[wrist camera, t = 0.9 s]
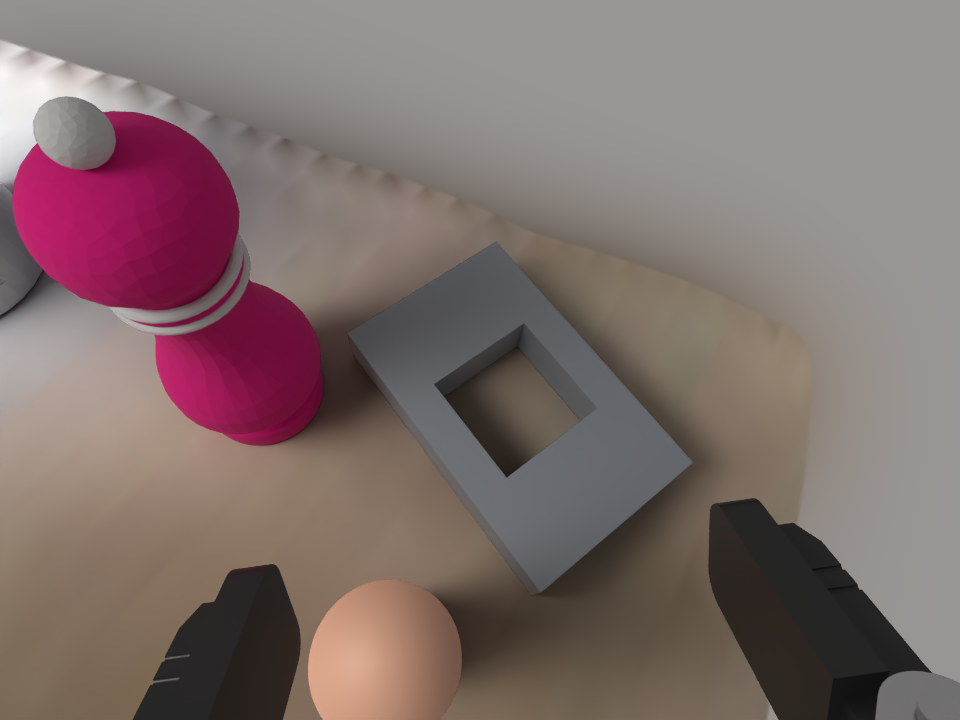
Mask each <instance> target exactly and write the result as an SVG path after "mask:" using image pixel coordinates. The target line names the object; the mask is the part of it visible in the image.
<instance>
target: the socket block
mask: <svg viewBox="0 0 960 720" xmlns="http://www.w3.org/2000/svg"><path fill="white" fill-rule="evenodd" d="M347 335H348V338H349V341H350V344H351V348H352V351H353V354H354V357H355V358H356V359H357V361H358V362H359V363H360V365H361V366H362V367H363V369H364V370H365V371H366V373H367V374H368V375H369V377H370V378H371V379H372V381H373V382H374V384H375V385H376V386H377V388H378V389H379V390H380V392H381V393H382V394H383V396H384V397H385V398H386V400H387V401H388V402H389V404H390V405H391V407H392V408H393V409H394V411H395V412H396V413H397V415H398V416H399V417H400V419H401V420H402V421H403V423H404V424H405V425H406V427H407V428H408V429H409V431H410V432H411V434H412V435H413V436H414V438H415V439H416V440H417V442H418V443H419V444H420V446H421V447H422V448H423V450H424V451H425V452H426V454H427V455H428V456H429V458H430V459H431V461H432V462H433V463H434V465H435V466H436V467H437V469H438V470H439V471H440V473H441V474H442V475H443V477H444V478H445V479H446V481H447V482H448V484H449V485H450V486H451V488H452V489H453V490H454V492H455V493H456V494H457V496H458V497H459V498H460V500H461V501H462V502H463V504H464V505H465V506H466V508H467V509H468V511H469V512H470V513H471V515H472V516H473V517H474V519H475V520H476V521H477V523H478V524H479V525H480V527H481V528H482V529H483V531H484V532H485V533H486V535H487V536H488V538H489V539H490V540H491V542H492V543H493V544H494V546H495V547H496V548H497V550H498V551H499V552H500V554H501V555H502V556H503V558H504V559H505V561H506V562H507V563H508V565H509V566H510V567H511V569H512V570H513V571H514V573H515V574H516V575H517V577H518V578H519V579H520V581H521V582H522V583H523V585H524V586H525V588H526V589H527V590H528V592H529V593H530V594H531V595H534V594H538V593H541V592H542V591H544V590H545V589H546V588H547V587H548V586H549V585H551V584H552V583H553V582H554V581H555V580H556V579H558V578H559V577H560V576H561V575H562V574H563V573H565V572H566V571H567V570H568V569H569V568H570V567H572V566H573V565H574V564H575V563H576V562H577V561H579V560H580V559H581V558H582V557H583V556H584V555H586V554H587V553H588V552H589V551H590V550H591V549H593V548H594V547H595V546H596V545H597V544H598V543H600V542H601V541H602V540H603V539H604V538H605V537H607V536H608V535H609V534H610V533H611V532H612V531H614V530H615V529H616V528H617V527H618V526H619V525H621V524H622V523H623V522H624V521H625V520H627V519H628V518H629V517H630V516H631V515H632V514H634V513H635V512H636V511H637V510H638V509H639V508H641V507H642V506H643V505H644V504H645V503H646V502H648V501H649V500H650V499H651V498H652V497H653V496H655V495H656V494H657V493H658V492H659V491H660V490H662V489H663V488H664V487H665V486H666V485H667V484H669V483H670V482H671V481H672V480H673V479H674V478H676V477H677V476H678V475H679V474H680V473H681V472H683V471H684V470H685V469H686V468H687V467H688V466H690V465H691V464H692V463H693V462H692V460H691V459H690V458H689V457H688V456H687V455H686V454H685V453H684V451H683V450H682V449H681V448H680V447H679V446H678V445H677V444H676V443H675V441H674V440H673V439H672V438H671V437H670V436H669V435H668V434H667V432H666V431H665V430H664V429H663V428H662V427H661V426H660V425H659V423H658V422H657V421H656V420H655V419H654V418H653V417H652V416H651V415H650V413H649V412H648V411H647V410H646V409H645V408H644V407H643V406H642V404H641V403H640V402H639V401H638V400H637V399H636V398H635V397H634V395H633V394H632V393H631V392H630V391H629V390H628V389H627V388H626V386H625V385H624V384H623V383H622V382H621V381H620V380H619V379H618V378H617V376H616V375H615V374H614V373H613V372H612V371H611V370H610V369H609V367H608V366H607V365H606V364H605V363H604V362H603V361H602V360H601V358H600V357H599V356H598V355H597V354H596V353H595V352H594V351H593V350H592V348H591V347H590V346H589V345H588V344H587V343H586V342H585V341H584V339H583V338H582V337H581V336H580V335H579V334H578V333H577V332H576V330H575V329H574V328H573V327H572V326H571V325H570V324H569V323H568V321H567V320H566V319H565V318H564V317H563V316H562V315H561V314H560V313H559V311H558V310H557V309H556V308H555V307H554V306H553V305H552V304H551V302H550V301H549V300H548V299H547V298H546V297H545V296H544V295H543V293H542V292H541V291H540V290H539V289H538V288H537V287H536V286H535V285H534V283H533V282H532V281H531V280H530V279H529V278H528V277H527V276H526V274H525V273H524V272H523V271H522V270H521V269H520V268H519V267H518V265H517V264H516V263H515V262H514V261H513V260H512V259H511V258H510V256H509V255H508V254H507V253H506V252H505V251H504V250H503V249H502V248H501V246H500V245H499V244H498V243H497V242H495V243H493V244H491V245H490V246H488V247H487V248H485V249H483V250H482V251H480V252H478V253H477V254H475V255H473V256H472V257H470V258H469V259H467V260H465V261H464V262H462V263H460V264H459V265H457V266H456V267H454V268H452V269H451V270H449V271H447V272H446V273H444V274H443V275H441V276H439V277H438V278H436V279H434V280H433V281H431V282H429V283H428V284H426V285H425V286H423V287H421V288H420V289H418V290H416V291H415V292H413V293H412V294H410V295H408V296H407V297H405V298H403V299H402V300H400V301H398V302H397V303H395V304H394V305H392V306H390V307H389V308H387V309H385V310H384V311H382V312H381V313H379V314H377V315H376V316H374V317H372V318H371V319H369V320H368V321H366V322H364V323H363V324H361V325H359V326H358V327H356V328H354V329H353V330H351V331H350V332H348V333H347ZM515 347H518V348H519V349H520V350H521V351H522V352H523V354H524V355H525V356H526V357H527V358H528V360H529V361H530V362H531V363H532V364H533V365H534V367H535V368H536V369H537V370H538V371H539V373H540V374H541V375H542V376H543V377H544V378H545V380H546V381H547V382H548V383H549V384H550V386H551V387H552V388H553V389H554V390H555V391H556V393H557V394H558V395H559V396H560V397H561V399H562V400H563V401H564V402H565V403H566V404H567V406H568V407H569V408H570V409H571V410H572V412H573V413H574V414H575V415H576V416H577V417H578V419H579V420H580V422H579V423H578V424H576V425H575V426H574V427H572V428H571V429H570V430H568V431H567V432H566V433H564V434H563V435H562V436H561V437H559V438H558V439H557V440H555V441H554V442H553V443H551V444H550V445H549V446H548V447H546V448H545V449H544V450H542V451H541V452H540V453H538V454H537V455H536V456H534V457H533V458H532V459H531V460H529V461H528V462H527V463H525V464H524V465H523V466H521V467H520V468H519V469H517V470H516V471H515V472H514V473H512V474H511V475H510V476H508V477H507V478H506V476H505V475H504V474H503V473H502V471H501V470H500V469H499V467H498V466H497V465H496V464H495V462H494V461H493V460H492V458H491V457H490V456H489V454H488V453H487V452H486V451H485V449H484V448H483V447H482V445H481V444H480V443H479V442H478V440H477V439H476V438H475V436H474V435H473V434H472V433H471V431H470V430H469V429H468V427H467V426H466V425H465V424H464V422H463V421H462V420H461V418H460V417H459V416H458V415H457V413H456V412H455V411H454V409H453V408H452V407H451V406H450V404H449V403H448V402H447V400H446V399H445V398H444V396H445V395H447V394H448V393H450V392H451V391H453V390H454V389H456V388H457V387H459V386H460V385H462V384H463V383H464V382H466V381H467V380H469V379H470V378H472V377H473V376H475V375H476V374H478V373H479V372H480V371H482V370H483V369H485V368H486V367H488V366H489V365H491V364H492V363H494V362H495V361H496V360H498V359H499V358H501V357H502V356H504V355H505V354H507V353H508V352H510V351H511V350H512V349H514V348H515Z"/></svg>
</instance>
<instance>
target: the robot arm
mask: <svg viewBox="0 0 960 720" xmlns="http://www.w3.org/2000/svg"><path fill="white" fill-rule="evenodd" d="M12 197H13V194H12V193H11V192H10V191H9V190H8V189H7V188H6V187H5V186H4V185H3V184H2V183H1V182H0V315H1V314H3V313H5V312H6V311H8V310H9V309H11V308H12V307H13V306H14V305H15V304H17V303H18V302H19V301H20V300H21V299H23V298H24V296H25V295H26V294H27V293H28V292H29V290H30V289H31V288H32V287H33V286H34V285H35V283H36V281H37V279H38V277H39V276H40V274H41V272H42V270H43V269H42V268H41V266H40V265H39V264H38V263H37V262H36V261H35V259H34V258H33V257H32V256H31V255H30V253H29V251H28V249H27V248H26V246H25V244H24V243H23V241H22V239H21V237H20V234H19V232H18V229H17V226H16V224H15V219H14V212H13V204H12ZM709 577H710V583H711V587H712V590H713V593H714V596H715V599H716V601H717V604H718V606H719V608H720V609H721V611H722V613H723V615H724V617H725V619H726V621H727V623H728V625H729V627H730V628H731V630H732V632H733V634H734V636H735V638H736V640H737V642H738V644H739V645H740V647H741V649H742V651H743V653H744V655H745V657H746V659H747V661H748V663H749V664H750V666H751V668H752V670H753V672H754V674H755V676H756V678H757V680H758V682H759V683H760V685H761V687H762V689H763V691H764V693H765V695H766V697H767V699H768V701H769V702H770V704H771V706H772V708H773V710H774V712H775V714H776V716H777V718H778V719H779V720H960V683H958V682H956V681H954V680H951V679H949V678H946V677H944V676H940V675H937V674H934V673H932V672H931V671H930V670H929V669H928V668H927V667H926V666H925V665H924V663H923V662H922V661H921V660H920V659H919V657H918V656H917V655H916V654H915V653H914V652H913V650H912V649H911V648H910V647H909V645H908V644H907V643H906V642H905V641H904V639H903V638H902V637H901V636H900V635H899V633H898V632H897V631H896V630H895V629H894V627H893V626H892V625H891V624H890V623H889V622H888V620H887V619H886V618H885V617H884V616H883V614H882V613H881V612H880V611H879V610H878V608H877V607H876V606H875V605H874V604H873V603H872V601H871V600H870V599H869V598H868V596H867V595H866V594H865V593H864V592H863V590H859V588H858V585H857V583H856V582H855V581H854V580H853V578H852V577H851V576H850V575H849V574H848V573H847V571H846V570H843V569H842V567H841V564H840V563H839V562H838V561H837V559H836V558H835V557H834V556H833V554H832V553H831V552H830V551H829V550H828V549H827V547H826V546H825V545H824V544H823V543H822V541H820V540H819V539H817V538H816V537H814V536H813V535H811V534H809V533H808V532H806V531H805V530H803V529H802V528H800V527H799V526H797V525H795V524H794V523H789V524H782V525H778V524H777V523H776V522H775V520H774V519H773V518H772V516H771V515H770V514H769V513H768V511H767V510H766V509H765V507H764V506H763V505H762V504H761V502H760V501H759V500H757V499H755V498H752V499H744V500H737V501H730V502H723V503H716V504H713V505H712V506H711V509H710V526H709ZM300 644H301V641H300V629H299V624H298V621H297V618H296V615H295V613H294V610H293V607H292V604H291V601H290V599H289V596H288V593H287V590H286V587H285V585H284V582H283V579H282V576H281V573H280V571H279V569H278V567H277V566H276V565H274V564H269V565H262V566H255V567H248V568H241V569H234V570H232V571H230V572H229V573H228V575H227V577H226V579H225V581H224V583H223V585H222V587H221V589H220V591H219V594H218V596H217V598H216V600H215V602H210V603H203V604H202V605H201V606H200V607H199V608H198V609H197V610H196V611H195V612H194V613H193V614H192V615H191V616H190V618H189V619H188V620H187V621H186V622H185V623H184V624H183V625H182V626H181V627H180V628H179V630H178V632H177V634H176V636H175V638H174V640H173V642H172V644H171V646H170V648H169V649H168V651H167V653H166V655H165V662H162V663H161V665H160V667H159V669H158V671H157V673H156V675H155V677H154V679H153V680H154V683H153V685H150V687H149V689H148V691H147V693H146V695H145V697H144V698H143V700H142V702H141V704H140V706H139V708H138V710H137V712H136V714H135V716H134V718H133V720H283V717H284V713H285V709H286V706H287V702H288V698H289V695H290V691H291V687H292V683H293V680H294V676H295V672H296V669H297V665H298V661H299V656H300Z"/></svg>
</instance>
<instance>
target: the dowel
mask: <svg viewBox="0 0 960 720" xmlns="http://www.w3.org/2000/svg"><path fill="white" fill-rule="evenodd" d="M461 668H462V650H461V643H460V638H459V635H458V631H457V628H456V626H455V623H454V621H453V619H452V617H451V616H450V614H449V612H448V611H447V609H446V608H445V607H444V605H443V604H442V603H441V602H440V601H439V600H438V599H437V598H436V597H435V596H434V595H433V594H431V593H430V592H428V591H427V590H425V589H424V588H422V587H420V586H418V585H415V584H413V583H410V582H406V581H401V580H379V581H374V582H370V583H367V584H364V585H362V586H360V587H358V588H356V589H354V590H352V591H350V592H349V593H347V594H346V595H344V596H343V597H342V598H341V599H340V600H339V601H337V602H336V603H335V605H334V606H333V607H332V608H331V609H330V610H329V611H328V613H327V614H326V616H325V617H324V618H323V620H322V622H321V624H320V625H319V627H318V629H317V631H316V634H315V636H314V639H313V642H312V646H311V649H310V655H309V662H308V677H309V686H310V691H311V695H312V698H313V701H314V704H315V706H316V708H317V710H318V712H319V714H320V716H321V717H322V719H323V720H441V718H442V717H443V716H444V714H445V713H446V711H447V710H448V708H449V706H450V705H451V703H452V701H453V698H454V696H455V694H456V691H457V688H458V684H459V681H460V675H461Z"/></svg>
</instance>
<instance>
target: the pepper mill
mask: <svg viewBox="0 0 960 720" xmlns="http://www.w3.org/2000/svg"><path fill="white" fill-rule="evenodd" d="M33 126H34V135H35V138H36V141H37V144H36V145H35V146H34V147H33V148H32V149H31V151H30V152H29V154H28V155H27V156H26V158H25V159H24V161H23V162H22V163H21V165H20V167H19V170H18V173H17V176H16V179H15V182H14V189H13V197H12V204H13V212H14V219H15V224H16V226H17V229H18V232H19V234H20V237H21V239H22V241H23V243H24V244H25V246H26V248H27V249H28V251H29V253H30V255H31V256H32V257H33V258H34V259H35V261H36V262H37V263H38V264H39V265H40V266H41V268H42V269H43V270H44V271H45V272H46V274H47V275H48V276H50V277H51V278H53V279H54V280H55V281H57V282H58V283H60V284H61V285H63V286H64V287H65V288H67V289H68V290H70V291H71V292H73V293H74V294H76V295H77V296H79V297H80V298H83V299H86V300H89V301H93V302H96V303H99V304H102V305H105V306H107V307H109V308H110V309H111V310H113V312H114V313H115V314H116V315H117V316H118V317H119V318H120V319H121V320H122V321H124V322H125V323H126V324H128V325H130V326H132V327H133V328H135V329H137V330H140V331H143V332H146V333H149V334H154V335H155V338H156V364H157V369H158V372H159V375H160V378H161V381H162V383H163V386H164V388H165V391H166V392H167V394H168V395H169V397H170V398H171V400H172V401H173V402H174V403H175V405H176V406H177V407H178V408H179V409H180V410H181V411H182V412H183V413H184V414H185V415H186V416H187V417H188V418H189V419H191V420H192V421H193V422H195V423H196V424H198V425H201V426H203V427H205V428H207V429H209V430H213V431H216V432H220V433H223V434H225V435H226V436H228V437H229V438H231V439H233V440H235V441H238V442H240V443H243V444H248V445H270V444H275V443H278V442H281V441H283V440H286V439H288V438H291V437H292V436H294V435H295V434H297V433H298V432H300V431H301V430H302V429H303V428H304V427H305V426H307V425H308V424H309V422H310V421H311V420H312V419H313V417H314V416H315V414H316V413H317V411H318V409H319V407H320V404H321V401H322V397H323V390H324V380H323V375H322V371H321V369H320V360H321V355H320V347H319V342H318V339H317V336H316V333H315V331H314V330H313V328H312V326H311V325H310V323H309V321H308V320H307V318H306V317H305V315H304V314H303V312H302V311H301V310H300V309H299V308H298V307H297V306H296V305H295V304H294V303H293V302H291V301H290V300H288V299H287V298H286V297H284V296H283V295H281V294H279V293H277V292H275V291H274V290H272V289H270V288H268V287H266V286H263V285H260V284H257V283H254V282H251V281H250V280H249V275H250V258H249V254H248V251H247V248H246V246H245V244H244V242H243V241H242V239H241V237H240V235H239V233H238V230H239V208H238V204H237V200H236V196H235V193H234V190H233V188H232V185H231V182H230V180H229V178H228V176H227V175H226V173H225V172H224V170H223V168H222V167H221V166H220V164H219V163H218V161H217V160H216V159H215V157H214V156H213V154H212V153H211V152H210V151H209V150H208V149H207V148H206V147H205V146H204V145H203V144H202V143H200V142H199V141H198V140H197V139H196V138H195V137H193V136H192V135H190V134H189V133H187V132H186V131H184V130H182V129H181V128H179V127H177V126H175V125H173V124H171V123H169V122H166V121H164V120H161V119H159V118H156V117H153V116H149V115H145V114H140V113H136V112H117V111H110V112H102V111H101V110H99V109H98V108H97V107H96V106H94V105H93V104H91V103H89V102H87V101H85V100H82V99H79V98H74V97H59V98H55V99H52V100H49V101H47V102H46V103H45V104H44V105H42V106H41V107H40V108H39V110H38V112H37V114H36V115H35V118H34V120H33Z"/></svg>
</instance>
